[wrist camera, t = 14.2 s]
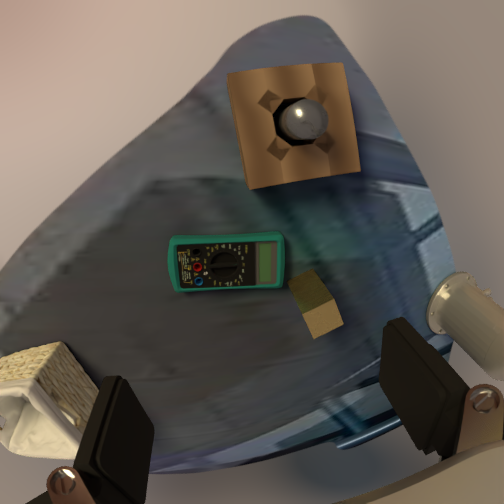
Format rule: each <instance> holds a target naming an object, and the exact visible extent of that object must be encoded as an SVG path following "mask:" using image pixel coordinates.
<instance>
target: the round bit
mask: <svg viewBox="0 0 504 504" xmlns="http://www.w3.org/2000/svg"><path fill="white" fill-rule="evenodd" d="M273 122H274V127H275V132H276V134H277V135H278V136H279V137H280V138H282V139H284V140H304V139H315V138H318V137H320V136H321V135H322V134H323V133H324V132H325V131H326V129H327V127H328V122H329V119H328V114H327V111H326V110H325V108H324V107H323V106H322V105H321V104H320V103H319V102H317V101H315V100H311V99H304V100H300V101H298V102H296V103H294V104H292V105H290V106H288V107H287V108H285V109H283V110H281V111H279V112H278V113H277V114H276V115H275V117H274V119H273Z"/></svg>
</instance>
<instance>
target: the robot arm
mask: <svg viewBox="0 0 504 504" xmlns="http://www.w3.org/2000/svg"><path fill="white" fill-rule="evenodd" d="M490 294H491V290H490V289H489V288H488V289H486V290H484V291H482V290H481V289H479V288H478V287H477V284H476V281H475V279H474V277H473V276H471V275H470V274H468V273H467V272H457V273H454V274H452V275H450V276H449V277H447V278H446V279H445V280H444V281H443V282H442V283H441V284H440V285H439V286H438V287H437V289H436V290H435V292H434V293H433V295H432V297H431V299H430V302H429V304H428V308H427V313H426V320H427V324H428V326H429V328H430V329H431V330H432V331H433V332H435V333H437V334H446V333H447V334H448V335H449V336H450V337H451V338H452V339H453V340H454V341H455V342H456V343H458V345H460V346H461V348H463V350H464V351H465V352H466V353H467V354H469V356H470V357H471V358H472V359H473V360H474V361H475V362H476V363H477V364H478V365H479V366H480V367H481V368H482V369H483V370H484V371H485V372H486V373H487V374H488V375H489V376H490V377H491V378H493V379H495V380H500V381H504V309H503V308H502V307H500V306H499V305H498V304H496V303H495V302H494V301H493V299H492V297H487V296H489V295H490ZM379 383H380V386H381V388H382V390H383V391H384V393H385V395H386V396H387V398H388V400H389V401H390V403H391V405H392V406H393V408H394V410H395V411H396V413H397V415H398V416H399V418H400V420H401V422H402V423H403V425H404V427H405V428H406V430H407V432H408V434H409V435H410V437H411V439H412V440H413V442H414V444H415V446H416V447H417V449H418V450H423V451H424V453H425V455H427V454H429V453H431V452H433V451H435V450H436V451H437V453H438V455H440V458H439V461H438V463H437V464H435V465H433V466H431V467H429V468H426V469H424V470H422V471H420V472H418V473H415V474H413V475H411V476H409V477H406V478H404V479H402V480H399V481H397V482H394V483H392V484H389V485H387V486H384V487H381V488H379V489H376V490H373V491H371V492H368V493H365V494H362V495H359V496H356V497H353V498H350V499H346V500H343V501H339V502H336V503H333V504H504V398H503V395H502V393H501V391H500V390H499V389H498V388H496V387H494V386H493V385H489V384H479V385H476V386H474V387H473V388H471V389H470V388H469V387H468V385H467V384H466V383H465V382H464V381H463V380H462V378H461V377H460V376H459V375H458V374H457V373H456V372H455V370H454V369H453V368H452V367H451V366H450V365H449V364H448V362H447V361H446V360H445V359H444V358H443V357H442V356H441V355H440V354H439V352H438V351H437V350H436V349H435V348H434V347H433V346H432V345H431V344H428V343H427V342H426V341H425V340H424V339H423V337H422V336H421V335H420V334H419V333H418V332H417V331H416V330H415V329H414V328H413V327H412V326H411V325H410V323H409V322H408V321H407V320H406V319H405V318H404V317H400V318H396V319H393V320H390V321H388V322H387V326H385V327H384V328H383V338H382V351H381V363H380V373H379ZM153 439H154V426H153V424H152V422H151V420H150V419H149V417H148V416H147V414H146V412H145V411H144V409H143V407H142V406H141V404H140V402H139V401H138V399H137V397H136V396H135V394H134V392H133V390H132V389H131V387H130V385H129V383H128V382H127V380H126V379H123V378H122V377H121V376H106V377H105V378H104V379H103V382H102V384H101V387H100V390H99V392H98V395H97V397H96V400H95V403H94V405H93V408H92V411H91V413H90V416H89V419H88V422H87V425H86V427H85V430H84V433H83V436H82V439H81V442H80V445H79V448H78V451H77V454H76V457H75V461H74V465H73V468H72V467H68V466H61V467H59V468H56V469H55V470H54V471H52V472H51V474H50V475H49V477H48V479H47V484H46V485H47V490H48V491H46V492H44V493H43V494H41V495H39V496H38V497H36V498H34V499H33V500H31V501H29V502H28V503H26V504H144V503H145V500H146V490H147V482H148V474H149V467H150V459H151V452H152V445H153Z"/></svg>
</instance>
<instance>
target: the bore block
mask: <svg viewBox="0 0 504 504" xmlns="http://www.w3.org/2000/svg"><path fill="white" fill-rule="evenodd" d="M227 87H228V93H229V98H230V103H231V108H232V113H233V118H234V123H235V129H236V134H237V139H238V144H239V149H240V155H241V160H242V165H243V170H244V176H245V181H246V185H247V186H248V188H249V189H250V190H251V189H256V188H262V187H267V186H272V185H278V184H283V183H289V182H295V181H301V180H307V179H313V178H319V177H325V176H332V175H338V174H345V173H352V172H359V171H361V170H360V161H359V154H358V146H357V139H356V132H355V126H354V119H353V113H352V108H351V102H350V97H349V91H348V86H347V81H346V76H345V71H344V67H343V63H319V64H302V65H290V66H279V67H270V68H262V69H254V70H247V71H241V72H234V73H228V74H227ZM304 99H311V100H315V101H317V102H319V103H320V104H321V105H322V106H323V107H324V108H325V110H326V111H327V114H328V119H329V122H328V127H327V129H326V131H325V132H324V133H323V134H322V135H321V136H320V137H318V138H315V139H304V140H303V142H302V144H297V145H289V144H288V143H287V142H285V141H284V140H282V139H281V138H280V137H278V136H276V132H275V127H274V122H273V116H272V114H273V113H274V112H275V110H276V109H277V108H278V106H279V105H280V104H285V103H293V102H295V103H296V102H298V101H300V100H304Z"/></svg>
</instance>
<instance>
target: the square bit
mask: <svg viewBox="0 0 504 504" xmlns="http://www.w3.org/2000/svg"><path fill="white" fill-rule="evenodd" d="M287 283H288V285H289V287H290V289H291V291H292V293H293V296H294V298H295V300H296V302H297V304H298V306H299V308H300V311H301V313H302V315H303V317H304V319H305V321H306V323H307V325H308V328H309V330H310V332H311V334H312V336H313V338H314V339H315V338H317V337H319V336H321V335H323V334H325V333H327V332H329V331H331V330H333V329H335V328H337V327H339V326H341V325H343V321H342V318H341V316H340V313H339V310H338V308H337V305H336V302H335V300H334V298H333V297H332V295H331V294H330V292H329V291H328V289H327V288H326V287H325V285H324V284H323V282H322V281H321V279H320V278H319V277H318V275H317V274H316V272H315V271H314V270H313V269H311V270H309V271H307V272H305V273H302V274H300V275H298V276H296V277H294V278H292V279H290V280H288V281H287Z"/></svg>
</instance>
